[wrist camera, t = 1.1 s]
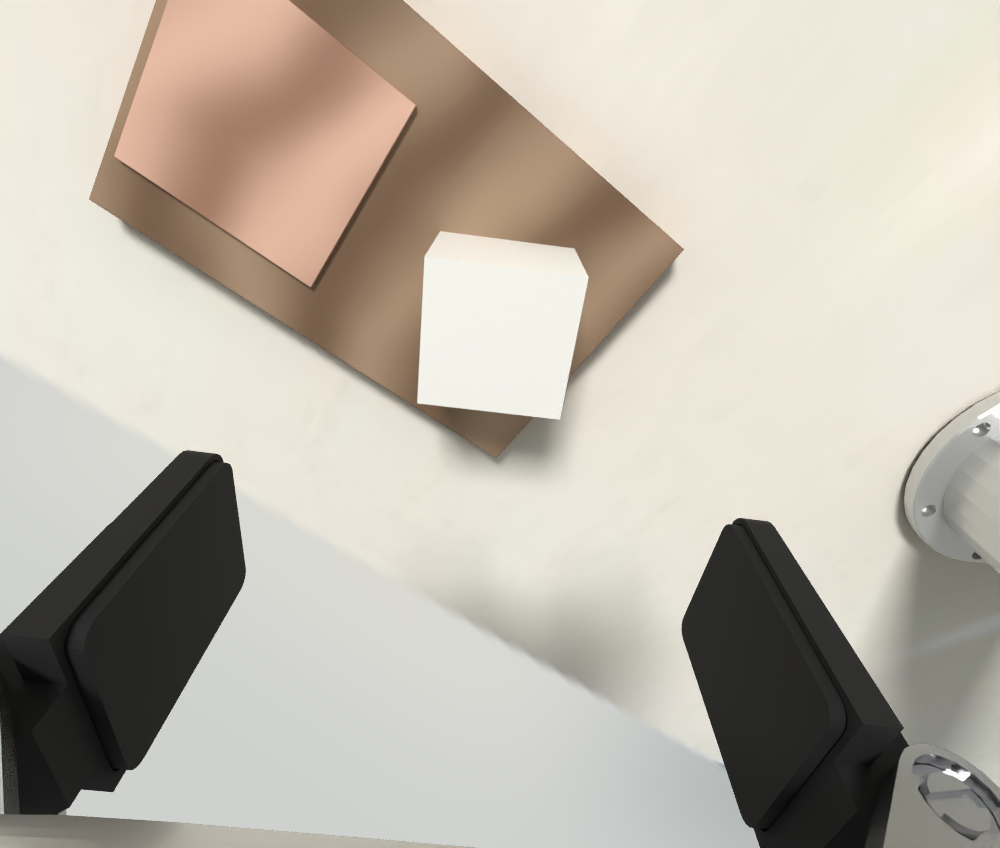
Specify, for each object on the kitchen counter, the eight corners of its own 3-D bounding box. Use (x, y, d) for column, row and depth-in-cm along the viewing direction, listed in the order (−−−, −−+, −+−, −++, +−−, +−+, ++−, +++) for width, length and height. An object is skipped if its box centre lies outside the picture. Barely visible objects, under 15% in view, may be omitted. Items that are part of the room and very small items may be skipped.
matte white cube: (574, 248, 24) (588, 277, 20) (551, 370, 27) (559, 419, 23) (440, 231, 24) (424, 256, 19) (432, 356, 27) (417, 403, 22)
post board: (675, 242, 25) (711, 270, 21) (496, 443, 31) (494, 501, 26) (233, -148, 19) (144, -234, 14) (111, 195, 25) (19, 212, 20)
